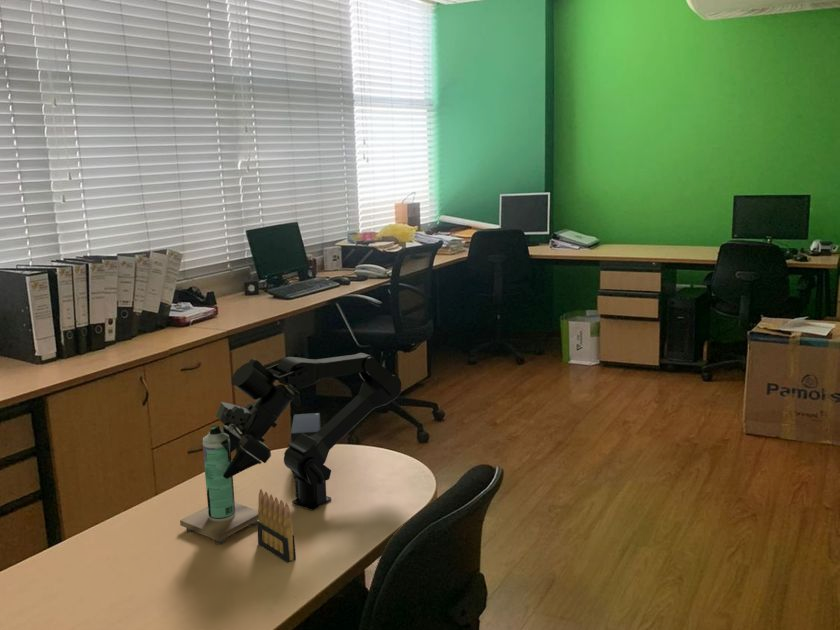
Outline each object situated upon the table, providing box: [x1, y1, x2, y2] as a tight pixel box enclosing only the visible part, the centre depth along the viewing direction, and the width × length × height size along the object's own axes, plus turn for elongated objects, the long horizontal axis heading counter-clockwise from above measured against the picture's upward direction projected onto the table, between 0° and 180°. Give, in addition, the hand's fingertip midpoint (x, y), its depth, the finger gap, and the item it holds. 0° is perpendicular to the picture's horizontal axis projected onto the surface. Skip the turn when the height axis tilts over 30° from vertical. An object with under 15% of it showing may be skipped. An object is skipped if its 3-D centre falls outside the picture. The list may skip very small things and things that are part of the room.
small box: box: [290, 412, 322, 479], centre depth 193 cm, size 13×7×12 cm, turn 6°
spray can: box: [202, 424, 236, 522], centre depth 162 cm, size 6×6×20 cm
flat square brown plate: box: [179, 502, 259, 545], centre depth 164 cm, size 12×12×2 cm
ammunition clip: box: [256, 488, 297, 564], centre depth 153 cm, size 11×2×12 cm, turn 44°
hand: (219, 469), depth 162 cm, fingers open, 9 cm apart
